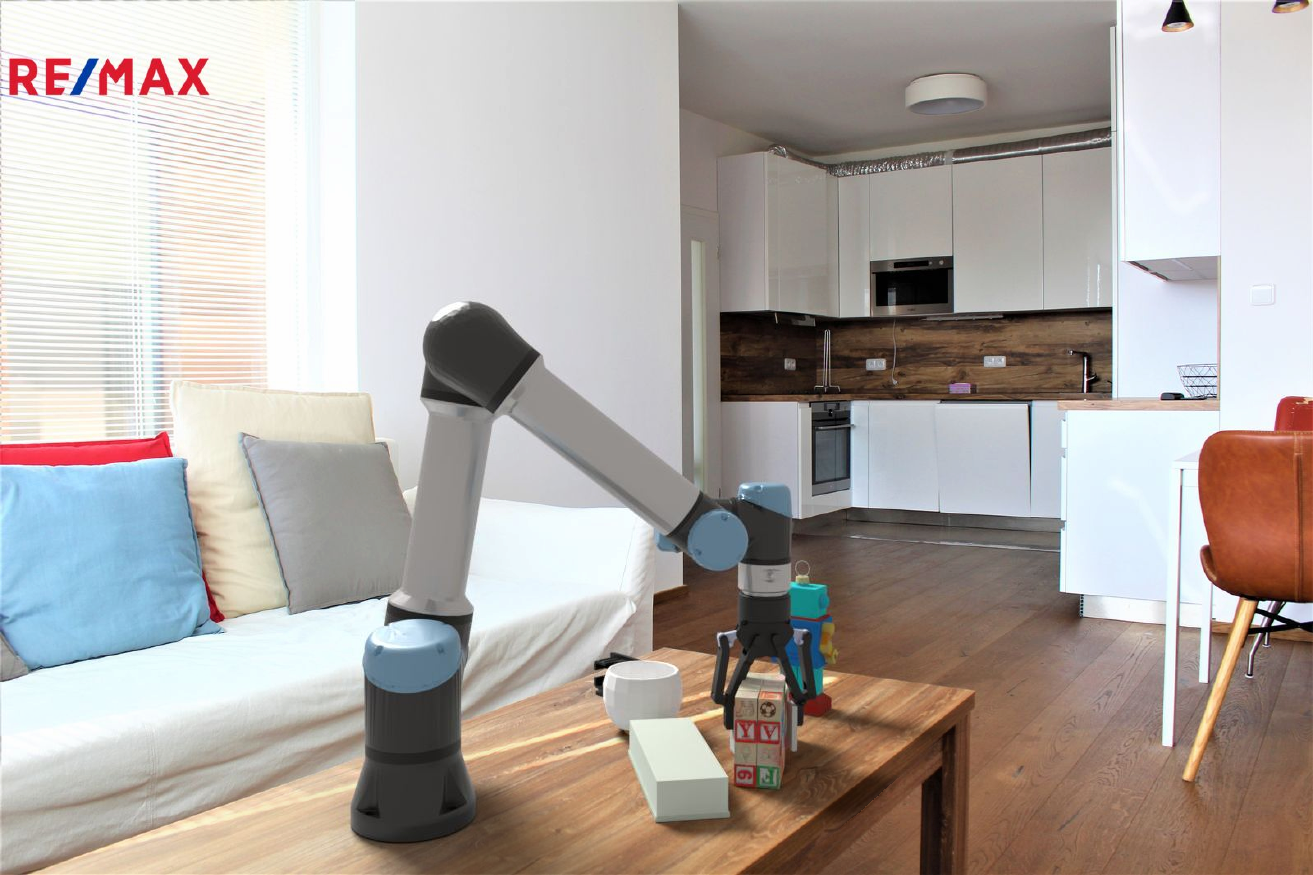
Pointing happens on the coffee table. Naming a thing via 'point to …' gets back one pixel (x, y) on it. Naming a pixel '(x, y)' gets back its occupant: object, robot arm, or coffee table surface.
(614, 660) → the end cap
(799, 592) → the toy robot
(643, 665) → the cup
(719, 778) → the plinth
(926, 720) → the coffee table surface
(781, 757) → the stack of blocks
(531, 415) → the robot arm
